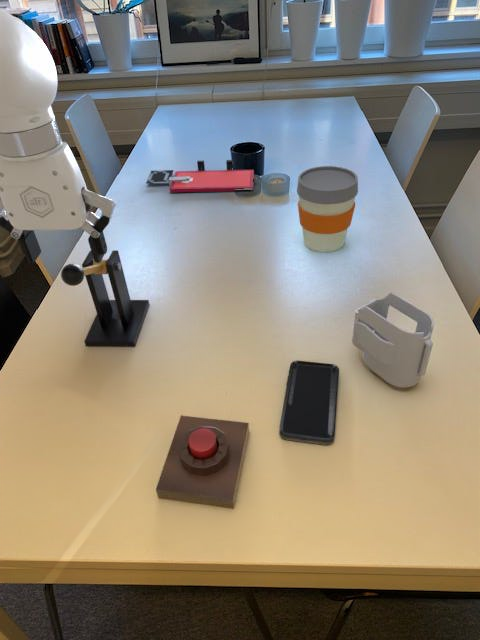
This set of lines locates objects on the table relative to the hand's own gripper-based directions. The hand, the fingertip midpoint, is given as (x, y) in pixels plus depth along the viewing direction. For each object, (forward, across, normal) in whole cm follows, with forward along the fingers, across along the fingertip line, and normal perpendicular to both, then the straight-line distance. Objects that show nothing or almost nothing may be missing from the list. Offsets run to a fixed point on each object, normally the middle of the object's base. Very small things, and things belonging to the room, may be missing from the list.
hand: (67, 257), depth 70 cm
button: (+18, +20, -19) cm, 33 cm away
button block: (+21, +20, -19) cm, 35 cm away
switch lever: (+7, 0, +4) cm, 8 cm away
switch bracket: (+22, 0, +10) cm, 24 cm away
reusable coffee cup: (+22, +39, +39) cm, 60 cm away
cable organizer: (+22, +47, 0) cm, 52 cm away
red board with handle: (+22, +7, +72) cm, 76 cm away
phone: (+21, +35, -8) cm, 42 cm away
